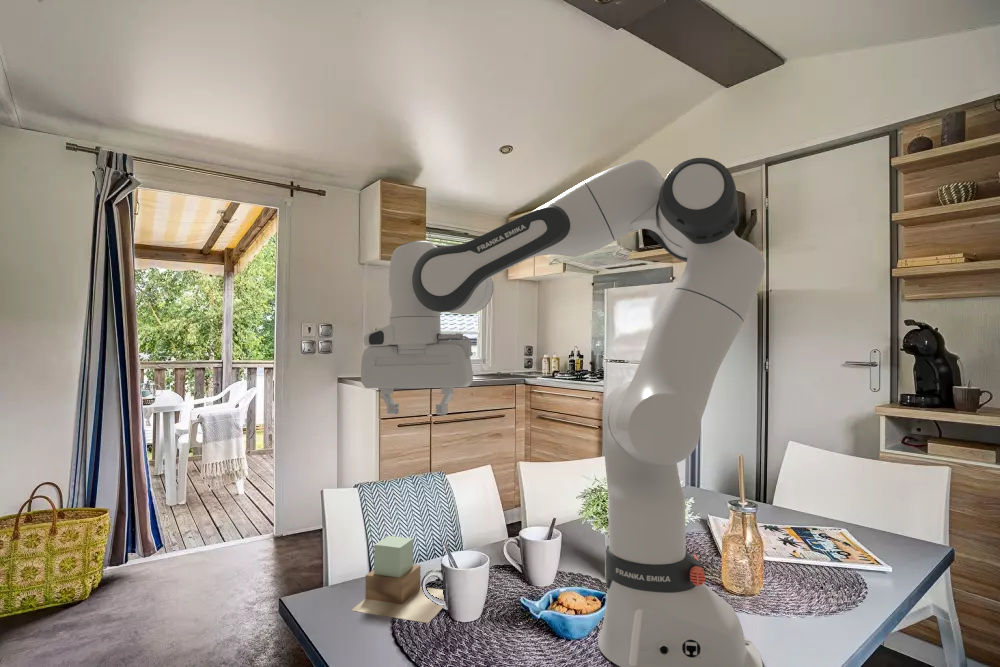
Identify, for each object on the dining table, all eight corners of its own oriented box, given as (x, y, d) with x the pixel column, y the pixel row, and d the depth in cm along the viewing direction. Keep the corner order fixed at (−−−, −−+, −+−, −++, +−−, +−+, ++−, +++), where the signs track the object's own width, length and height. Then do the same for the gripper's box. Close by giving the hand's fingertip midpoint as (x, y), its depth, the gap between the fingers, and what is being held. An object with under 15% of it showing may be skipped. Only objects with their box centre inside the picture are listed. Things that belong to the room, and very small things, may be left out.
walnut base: (420, 587, 100) (420, 565, 100) (401, 604, 93) (402, 580, 93) (385, 582, 102) (386, 560, 102) (365, 598, 95) (365, 575, 95)
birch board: (457, 597, 98) (457, 591, 98) (428, 629, 87) (428, 622, 87) (387, 587, 102) (387, 581, 102) (350, 616, 91) (350, 610, 91)
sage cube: (413, 566, 99) (413, 538, 99) (399, 577, 94) (400, 547, 95) (388, 563, 101) (388, 535, 101) (374, 573, 96) (374, 544, 96)
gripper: (477, 333, 97) (479, 412, 96) (374, 337, 103) (375, 412, 102) (464, 332, 91) (466, 416, 90) (355, 336, 97) (356, 415, 96)
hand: (417, 414), depth 96 cm, fingers open, 8 cm apart
